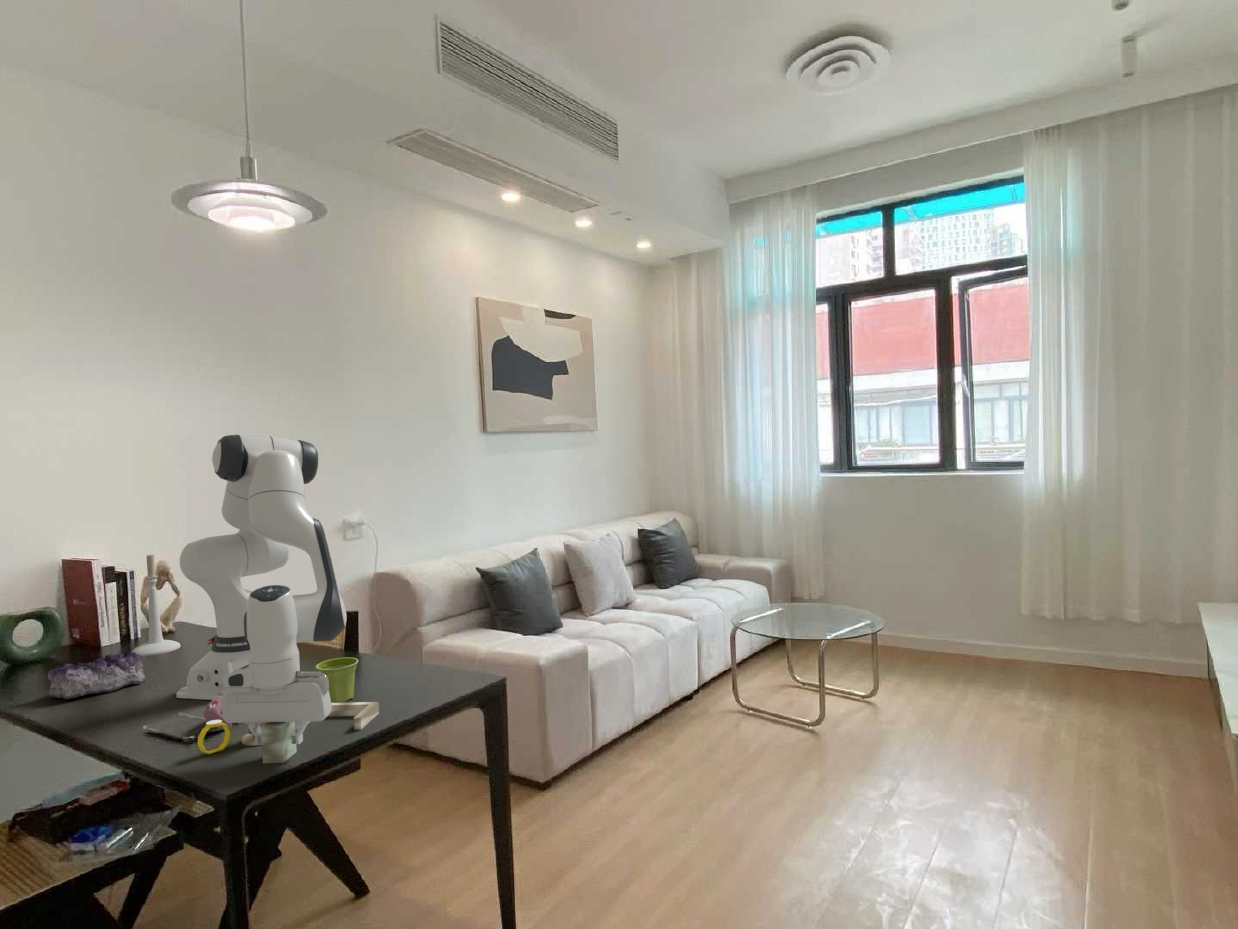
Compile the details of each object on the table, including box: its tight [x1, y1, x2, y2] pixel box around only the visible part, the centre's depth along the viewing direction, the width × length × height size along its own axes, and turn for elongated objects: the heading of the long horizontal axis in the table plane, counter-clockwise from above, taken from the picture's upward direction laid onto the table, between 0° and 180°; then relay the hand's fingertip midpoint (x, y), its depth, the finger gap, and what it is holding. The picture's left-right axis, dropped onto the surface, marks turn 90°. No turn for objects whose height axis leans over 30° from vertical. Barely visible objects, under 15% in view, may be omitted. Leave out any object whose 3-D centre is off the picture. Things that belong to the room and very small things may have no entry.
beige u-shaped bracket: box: [295, 701, 380, 732], centre depth 160 cm, size 15×10×2 cm, turn 86°
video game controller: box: [203, 696, 233, 731], centre depth 163 cm, size 10×5×7 cm, turn 5°
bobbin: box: [241, 722, 267, 747], centre depth 152 cm, size 7×7×8 cm
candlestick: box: [131, 554, 181, 657], centre depth 229 cm, size 13×13×30 cm
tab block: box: [261, 722, 298, 764], centre depth 143 cm, size 4×5×7 cm
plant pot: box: [315, 656, 359, 703], centre depth 175 cm, size 9×9×9 cm
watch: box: [197, 720, 231, 755], centre depth 147 cm, size 6×3×6 cm, turn 151°
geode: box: [47, 651, 146, 700], centre depth 191 cm, size 20×12×10 cm, turn 136°
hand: (279, 743), depth 143 cm, fingers open, 6 cm apart
